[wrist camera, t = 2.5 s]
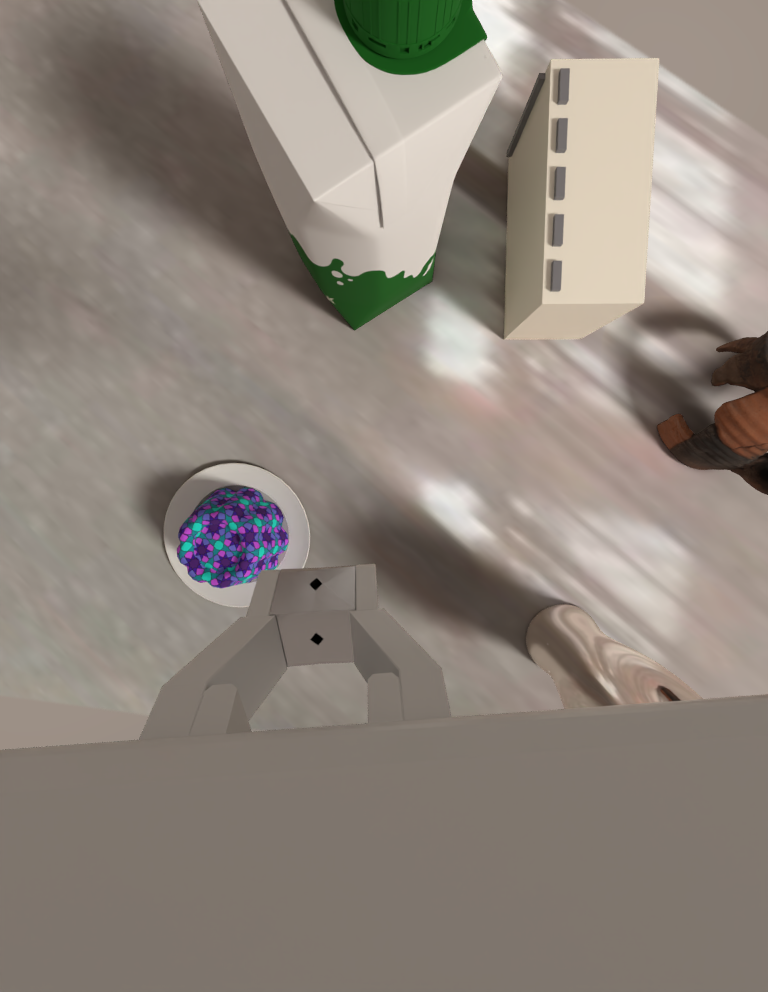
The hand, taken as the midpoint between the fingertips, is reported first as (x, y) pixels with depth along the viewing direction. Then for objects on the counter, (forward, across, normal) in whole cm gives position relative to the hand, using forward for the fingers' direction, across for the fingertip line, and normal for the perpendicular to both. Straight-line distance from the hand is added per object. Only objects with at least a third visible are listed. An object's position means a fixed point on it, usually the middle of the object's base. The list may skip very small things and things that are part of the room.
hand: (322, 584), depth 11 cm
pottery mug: (+22, -30, +5) cm, 37 cm away
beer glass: (+15, -17, +21) cm, 31 cm away
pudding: (+20, +10, +13) cm, 26 cm away
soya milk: (+28, -2, -6) cm, 29 cm away
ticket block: (+28, -16, -7) cm, 33 cm away
